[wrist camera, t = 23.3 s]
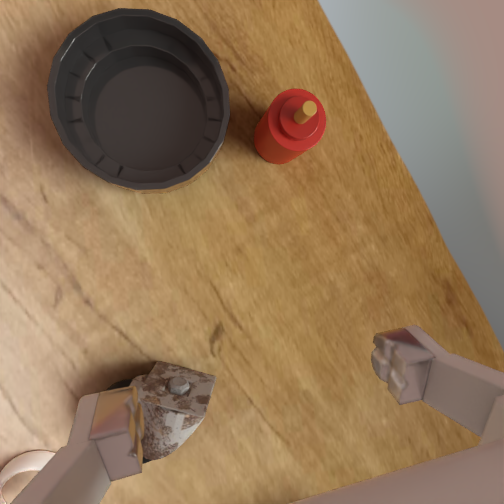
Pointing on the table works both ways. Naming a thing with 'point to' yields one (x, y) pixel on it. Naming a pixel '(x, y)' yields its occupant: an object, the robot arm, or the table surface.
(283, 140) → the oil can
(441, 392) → the robot arm
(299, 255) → the table surface
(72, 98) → the bowl
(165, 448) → the caster wheel
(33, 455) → the hook
